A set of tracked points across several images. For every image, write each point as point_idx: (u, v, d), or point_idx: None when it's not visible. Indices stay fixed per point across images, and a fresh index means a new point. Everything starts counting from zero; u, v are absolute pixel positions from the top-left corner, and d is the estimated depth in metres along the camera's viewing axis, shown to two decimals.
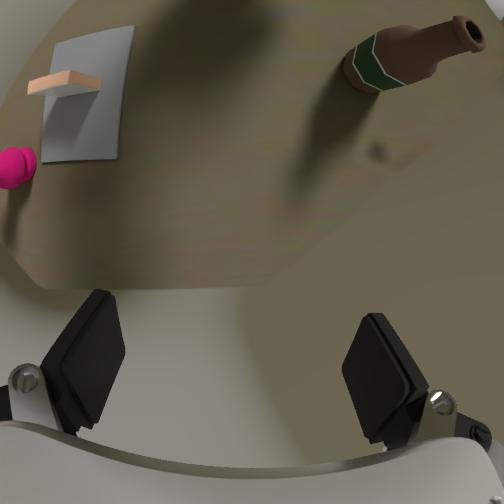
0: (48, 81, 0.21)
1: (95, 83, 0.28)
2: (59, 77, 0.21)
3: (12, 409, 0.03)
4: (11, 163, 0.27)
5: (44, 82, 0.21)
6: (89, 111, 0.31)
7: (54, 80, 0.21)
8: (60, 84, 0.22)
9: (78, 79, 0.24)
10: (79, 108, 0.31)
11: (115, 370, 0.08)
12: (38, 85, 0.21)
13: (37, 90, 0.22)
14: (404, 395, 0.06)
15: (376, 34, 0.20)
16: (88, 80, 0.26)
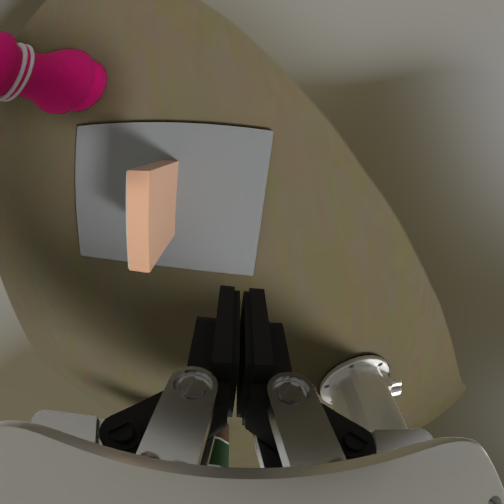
0: (137, 227, 0.19)
1: None
2: (139, 252, 0.20)
3: (158, 405, 0.05)
4: (53, 104, 0.17)
5: (137, 217, 0.19)
6: None
7: (136, 241, 0.19)
8: (128, 254, 0.20)
9: None
10: None
11: None
12: (135, 201, 0.18)
13: (128, 195, 0.18)
14: (246, 370, 0.07)
15: (216, 466, 0.34)
16: None
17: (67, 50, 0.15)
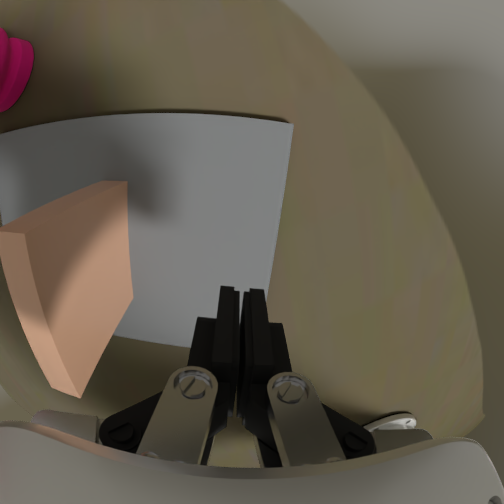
0: (37, 335, 0.08)
1: None
2: (55, 370, 0.08)
3: (158, 405, 0.05)
4: None
5: (31, 319, 0.07)
6: None
7: (44, 355, 0.08)
8: (42, 368, 0.09)
9: None
10: None
11: None
12: (19, 292, 0.07)
13: (10, 277, 0.07)
14: (246, 370, 0.07)
15: None
16: None
17: None
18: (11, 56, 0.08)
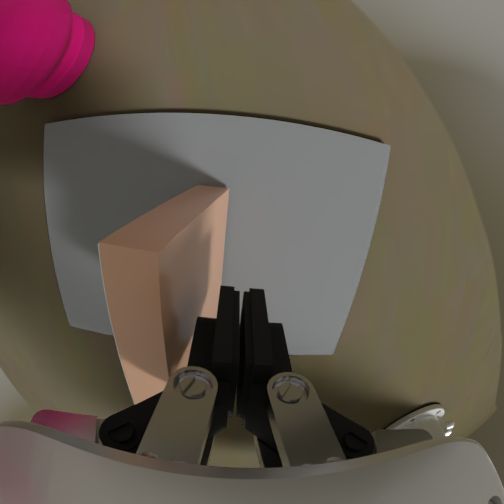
0: (142, 366, 0.08)
1: None
2: None
3: (158, 405, 0.05)
4: None
5: (139, 350, 0.08)
6: None
7: (145, 386, 0.08)
8: (133, 396, 0.09)
9: None
10: None
11: None
12: (129, 320, 0.07)
13: (112, 299, 0.07)
14: (246, 370, 0.07)
15: None
16: None
17: None
18: (71, 31, 0.08)
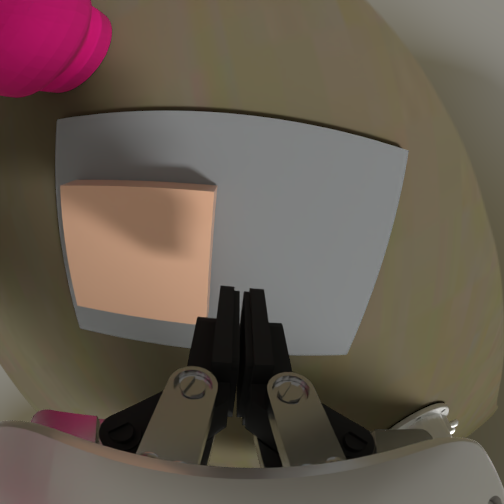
0: None
1: None
2: None
3: (158, 405, 0.05)
4: (4, 76, 0.06)
5: None
6: None
7: None
8: None
9: None
10: None
11: None
12: None
13: None
14: (246, 370, 0.07)
15: None
16: None
17: None
18: None
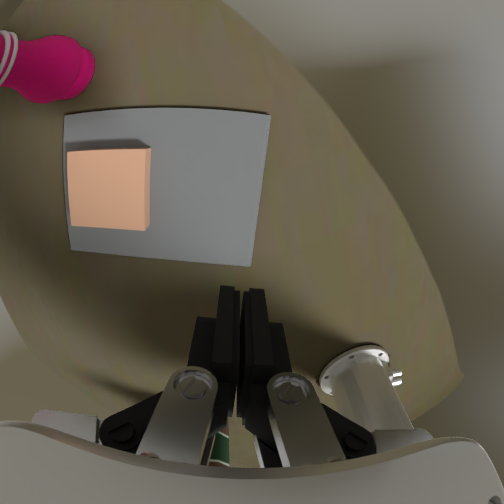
0: None
1: None
2: None
3: (158, 405, 0.05)
4: (38, 93, 0.14)
5: None
6: None
7: None
8: None
9: None
10: None
11: None
12: None
13: None
14: (246, 370, 0.07)
15: (217, 461, 0.34)
16: None
17: (53, 37, 0.12)
18: None
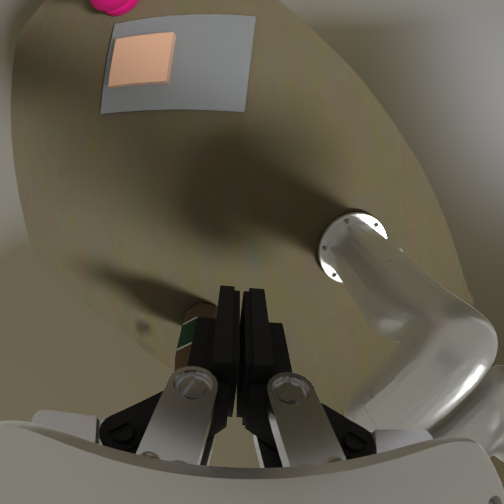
0: None
1: (155, 82, 0.30)
2: None
3: (158, 405, 0.05)
4: None
5: None
6: None
7: None
8: None
9: (125, 85, 0.30)
10: None
11: None
12: None
13: None
14: (246, 370, 0.07)
15: None
16: (141, 83, 0.30)
17: None
18: None
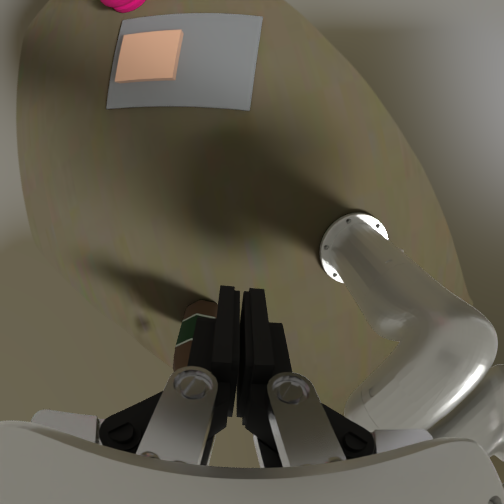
0: None
1: (162, 79, 0.31)
2: None
3: (158, 405, 0.05)
4: None
5: None
6: None
7: None
8: None
9: (131, 81, 0.30)
10: None
11: None
12: None
13: None
14: (246, 370, 0.07)
15: None
16: (147, 79, 0.30)
17: None
18: None
